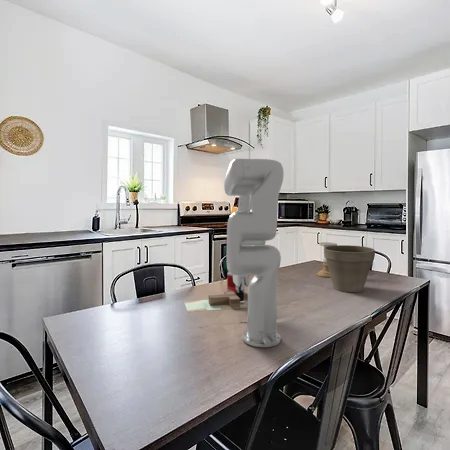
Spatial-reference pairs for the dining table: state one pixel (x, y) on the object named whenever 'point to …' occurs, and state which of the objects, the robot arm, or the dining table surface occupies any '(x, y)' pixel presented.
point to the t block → (225, 299)
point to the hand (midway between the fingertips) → (239, 300)
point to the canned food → (230, 283)
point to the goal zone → (203, 305)
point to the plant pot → (349, 266)
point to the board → (242, 305)
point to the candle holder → (325, 262)
